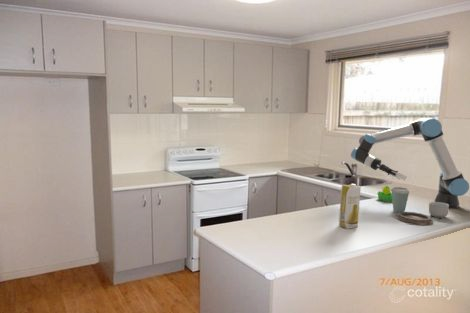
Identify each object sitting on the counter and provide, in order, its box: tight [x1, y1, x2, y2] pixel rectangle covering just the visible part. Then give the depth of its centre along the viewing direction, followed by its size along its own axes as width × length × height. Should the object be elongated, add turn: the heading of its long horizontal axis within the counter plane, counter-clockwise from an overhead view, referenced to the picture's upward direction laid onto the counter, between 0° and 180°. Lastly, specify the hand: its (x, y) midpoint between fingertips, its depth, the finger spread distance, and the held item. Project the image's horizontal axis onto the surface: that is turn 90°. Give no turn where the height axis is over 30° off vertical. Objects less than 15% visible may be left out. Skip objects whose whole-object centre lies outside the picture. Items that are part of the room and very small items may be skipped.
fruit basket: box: [376, 185, 393, 203], centre depth 266 cm, size 11×9×11 cm
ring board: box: [396, 211, 433, 226], centre depth 220 cm, size 19×19×2 cm
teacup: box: [428, 201, 450, 219], centre depth 231 cm, size 14×11×8 cm
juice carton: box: [338, 183, 362, 230], centre depth 202 cm, size 9×8×24 cm
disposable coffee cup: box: [390, 186, 410, 213], centre depth 238 cm, size 11×11×15 cm
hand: (403, 178), depth 237 cm, fingers open, 13 cm apart
